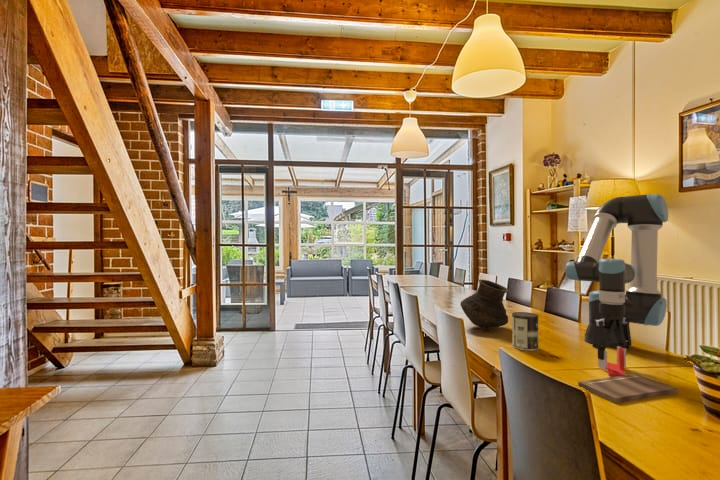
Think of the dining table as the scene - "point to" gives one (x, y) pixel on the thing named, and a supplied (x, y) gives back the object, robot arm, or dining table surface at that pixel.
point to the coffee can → (525, 331)
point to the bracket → (617, 365)
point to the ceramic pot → (486, 305)
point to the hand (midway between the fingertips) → (612, 367)
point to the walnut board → (627, 388)
